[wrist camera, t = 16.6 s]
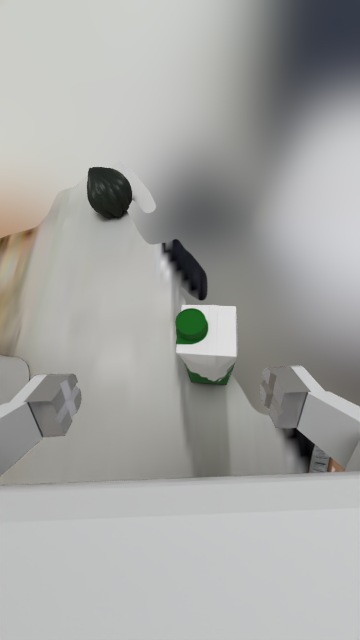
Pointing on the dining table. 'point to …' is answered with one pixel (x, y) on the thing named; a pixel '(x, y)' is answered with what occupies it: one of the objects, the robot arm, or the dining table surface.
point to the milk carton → (207, 342)
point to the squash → (108, 191)
